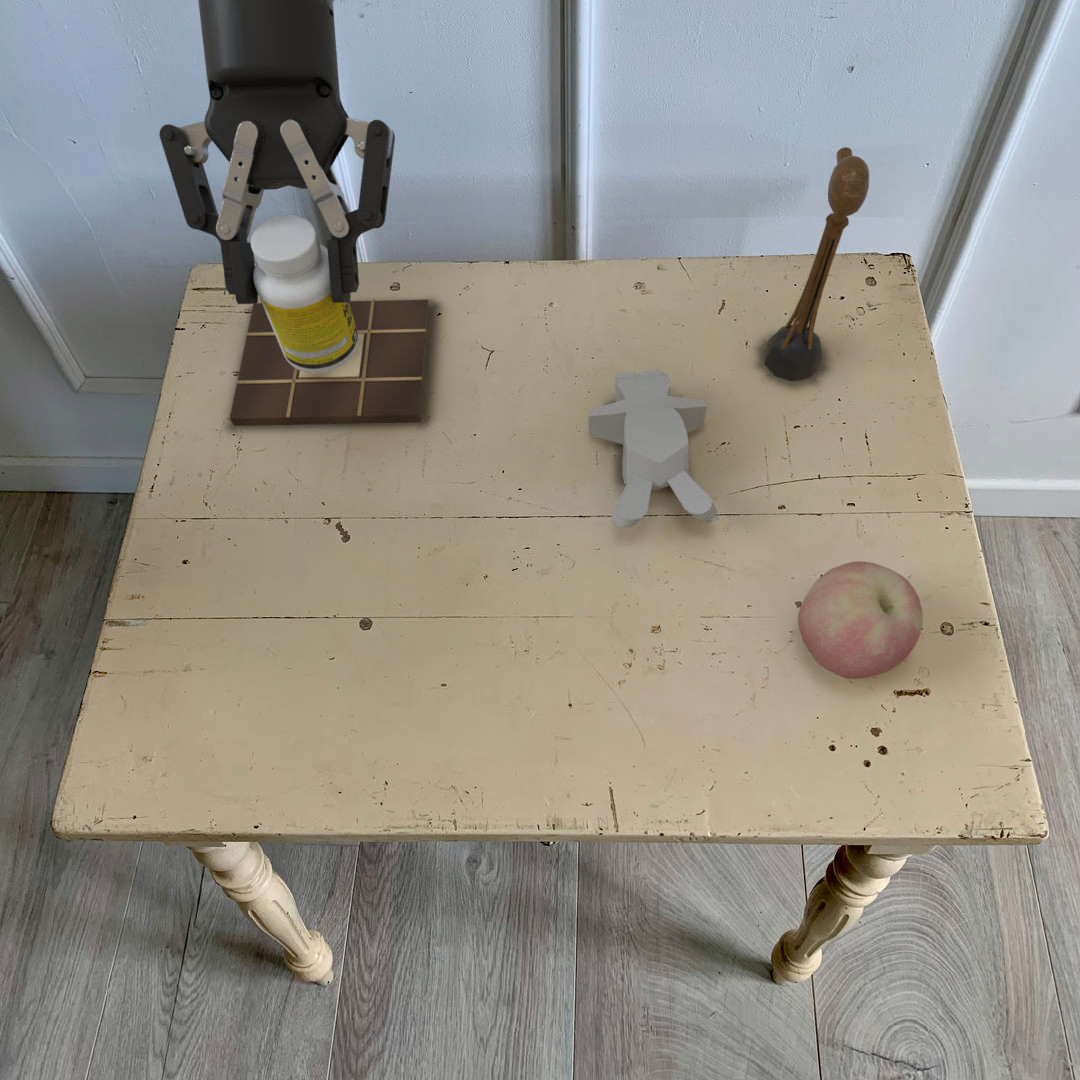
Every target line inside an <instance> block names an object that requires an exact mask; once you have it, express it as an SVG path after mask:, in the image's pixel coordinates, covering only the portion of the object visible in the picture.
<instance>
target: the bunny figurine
mask: <svg viewBox="0 0 1080 1080" xmlns="http://www.w3.org/2000/svg"><path fill="white" fill-rule="evenodd" d="M614 383H615V384H614V385H615V386H614V388H615V402H612V403H608V404H605V405H601V406H598V407H594V408H591V409H588V412H587V413H588V418H587V419H588V421H587V422H588V423H587V424H588V426H587V427H588V428H587V429H588V431H587V432H588V436H591V437H595V438H598V439H602V440H605V441H609V442H612V443H616V444H619V445H622V448H623V449H622V462H621V472H622V480H623V483H624V485H625V486H624V488H623V490H622V492H621V494H620V496H619V498H618V500H617V502H616V504H615V506H614V508H613V510H612V512H611V521H612V523H613V524H614V525H615V527H618V528H622V529H628V528H632V527H634V526H635V525H637V524H638V523H639V522H640V521H641V520H642V519H643V517H645V515H646V514H648V509H649V504H650V498H651V493H652V490H653V491H659V490H663V489H664V488H666V487H669V486H670V488H671V490H672V491H673V493H674V495H675V496H676V498H677V499H678V501H679V502H680V504H681V506H682V508H683V509H684V510H685V511H686V512H687V513H688V514H690V515H691V516H692V517H693V518H694V519H695V520H697V521H702V522H709V521H712V520H713V519H715V518H716V516H717V513H718V510H717V508H716V504H715V503H714V502H713V500H712V498H711V497H710V496H709V494H708V493H707V492H706V491H705V490H704V489H703V488H702V487H701V486H700V485H699V484H698V483H697V481H695V480H694V479H693V477H691V476H690V470H689V469H690V463H689V461H690V459H689V457H690V456H689V437H688V433H690V432H692V431H694V430H696V429H699V428H701V427H702V426H704V425H705V421H706V415H707V414H706V413H707V408H708V407H707V404H706V402H705V400H704V399H696V398H689V397H679V396H675V395H674V396H673V395H670V387H671V377H670V376H669V375H668V374H665V373H664V372H663V369H662V368H659V369H649V370H648V369H647V370H642V371H641V373H640V375H639V374H638V372H637V371H624V372H622V371H621V372H615V382H614Z"/></svg>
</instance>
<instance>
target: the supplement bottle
mask: <svg viewBox="0 0 1080 1080" xmlns="http://www.w3.org/2000/svg"><path fill="white" fill-rule="evenodd" d="M250 243H251V248H252V250H253V253H254V259H255V261H256V263H255V268H254V273H253V280H254V285H255V288H256V290H257V293H258V299H259V300H260V303H262V304H263V307H264V309H265V311H266V314H267V316H268V319H269V321H270V324H271V326H272V328H273V331H274V333H275V335H276V338H277V340H278V343H279V345H280V348H281V350H282V352H283V354H284V356H285V358H286V360H287V361H288V362H289V363H290V364H291V365H292V366H293V367H295V368H297V369H298V370H301V371H304V372H308V373H324V372H329V371H332V370H334V369H337V368H339V367H340V366H342V365H344V364H345V363H346V362H347V361H349V360H350V359H351V357H352V356H353V355H354V353H355V352H356V349H357V347H358V341H359V338H358V331H357V328H356V324H355V321H354V318H353V314H352V311H351V308H350V304H349V302H346V303H333V301H332V296H331V285H330V273H329V261H328V249H327V247H325V246H324V245H323V244H321V242H320V240H319V237H318V235H317V231H316V229H315V227H314V225H313V224H312V223H311V222H310V221H309V220H307V219H306V218H304V217H301V216H299V215H295V214H294V215H293V214H292V215H291V214H284V215H283V214H282V215H277V216H274V217H272V218H269V219H267V220H265V221H263V222H262V223H261V224H260V225H258V226H257V227H256V229H255V230H254V231H253V233H252V235H251V238H250Z"/></svg>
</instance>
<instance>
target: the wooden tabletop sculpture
mask: <svg viewBox="0 0 1080 1080" xmlns="http://www.w3.org/2000/svg"><path fill="white" fill-rule="evenodd" d="M830 175H831V176H830V178H829V182H828V188H827V201H828V205H829V207H830V209H831V211H832V213H829V214H828V215H827V216H826V217H825V226H824V229H823V232H822V235H821V239H820V241H819V245H818V248H817V251H816V253H815V257H814V260H813V262H812V266H811V269H810V272H809V274H808V277H807V280H806V282H805V285H804V287H803V290H802V292H801V295H800V298H799V299H798V302H797V303H796V307H795V308H794V310H793V313H792V314H791V316H790V318H789V319H788V320H787V322H786V324H785V325H784V326H782V327H780V328H779V329H778V330H777V331H776V332H775V333H774V334H773V335H772V336H771V337H770V338H769V339H768V340H767V343H766V344H765V346H764V350H763V353H764V354H763V355H764V358H763V359H764V361H763V362H764V363H763V364H764V365H765V366H766V368H767V369H768V370H769V371H770V372H771V373H772V374H773V375H774V376H775V377H778V378H780V379H785V380H788V381H791V382H795V381H800V380H805V379H810V378H811V377H812V375H814V373H815V372H816V371H817V370H818V369H819V368H820V365H821V363H822V355H823V353H822V341H821V338H820V337H819V336H818V335H817V333H816V332H815V331H814V330H815V326H816V322H817V321H816V320H817V316H818V311H819V308H820V303H821V299H822V297H823V292H824V289H825V286H826V282H827V280H828V276H829V274H830V271H831V270H830V269H831V267H832V264H833V261H834V259H835V256H836V252H837V250H838V247H839V244H840V240H841V238H842V235H843V232H844V229H846V228H847V227H848V226H849V224H850V223H849V222H850V221H849V216H852V215H854V214H856V213H857V212H858V211H859V210H860V209H861V207H862V206H863V204H864V202H865V201H866V199H867V195H868V191H869V188H870V170H869V165H868V164H867V163H866V162H865V160H864V159H863V158H861V157H859V156H856V155H853V150H852V149H851V148H850V147H844V146H843V147H841V148H840V149H838V150H837V152H836V165H835V166H834V167H833V171H832V172H831V174H830Z"/></svg>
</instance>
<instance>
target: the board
mask: <svg viewBox="0 0 1080 1080" xmlns="http://www.w3.org/2000/svg"><path fill="white" fill-rule="evenodd" d="M349 304H350V308H351V311H352V314H353V318H354V321H355V324H356V328H357V331H358V338H359V341H358V347H357V349H356V352H355V353H354V355H353V356H352V357H351V359H350V360H349V361H347V362H346V363H345V364H344V365H342V366H340V367H339V368H337V369H334V370H332V371H329V372H324V373H308V372H304V371H301V370H298V369H297V368H295V367H293V366H292V365H291V364H290V363H289V362H288V361H287V360H286V358H285V356H284V354H283V352H282V350H281V348H280V345H279V343H278V340H277V338H276V335H275V333H274V331H273V328H272V326H271V324H270V321H269V319H268V316H267V314H266V311H265V309H264V307H263V304H262V302H257V303H256V304H252V307H251V308H252V309H251V313H250V317H249V323H248V327H247V332H246V333H245V342H244V347H243V352H242V356H241V360H240V361H241V362H240V366H239V372H238V376H237V380H236V381H235V384H236V386H235V391H234V396H233V400H232V405H231V410H230V414H229V420H230V422H231V424H232V425H233V426H269V425H270V426H272V425H273V426H274V425H277V426H278V425H321V424H323V425H325V424H327V425H329V424H374V423H377V424H378V423H380V424H381V423H382V424H383V423H420V422H421V420H422V408H423V396H424V395H423V393H424V383H425V372H426V371H425V369H426V358H427V357H426V355H427V346H428V333H429V331H428V330H429V318H430V309H431V308H430V301H429V299H428V298H427V299H426V298H425V299H387V300H386V299H385V300H383V299H381V300H375V299H374V298H373V299H371V300H350V302H349Z"/></svg>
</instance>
